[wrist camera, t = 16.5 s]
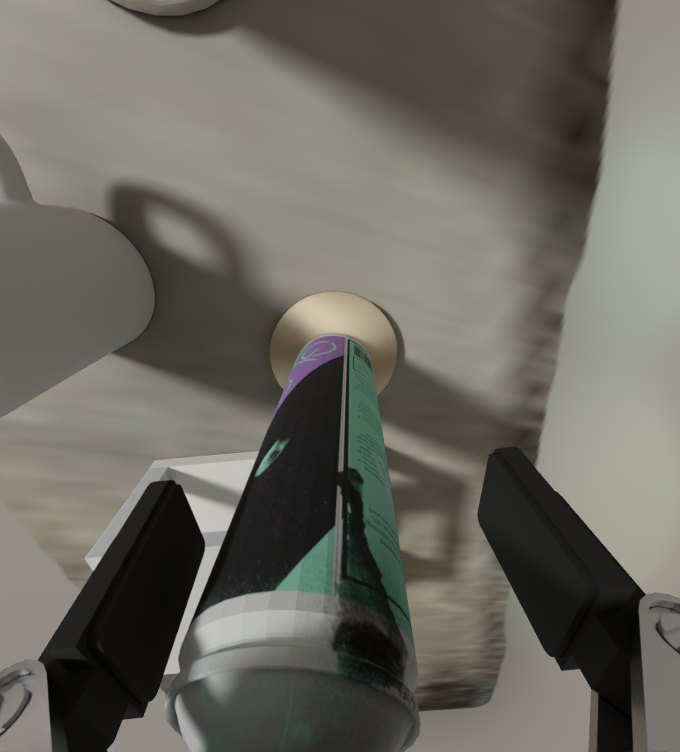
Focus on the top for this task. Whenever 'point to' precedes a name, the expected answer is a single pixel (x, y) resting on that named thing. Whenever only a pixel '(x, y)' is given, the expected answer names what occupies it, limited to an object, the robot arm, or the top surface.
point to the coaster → (334, 317)
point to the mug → (61, 290)
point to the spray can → (307, 585)
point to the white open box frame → (209, 505)
